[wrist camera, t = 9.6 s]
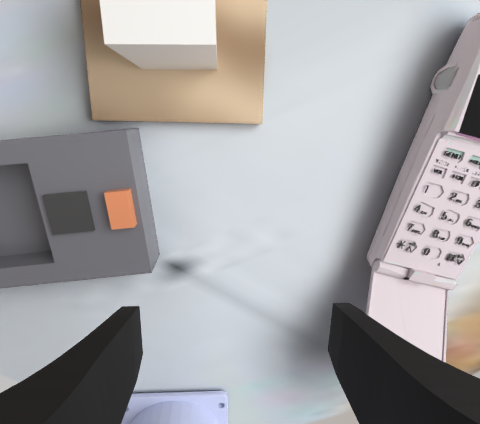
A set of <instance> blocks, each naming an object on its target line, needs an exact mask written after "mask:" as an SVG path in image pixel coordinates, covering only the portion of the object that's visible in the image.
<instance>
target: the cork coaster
mask: <svg viewBox="0 0 480 424" xmlns="http://www.w3.org/2000/svg"><path fill="white" fill-rule="evenodd" d="M80 2H81V12H82V22H83V32H84V42H85V52H86V62H87V72H88V81H89V91H90V101H91V111H92V120H110V121H157V122H203V123H250V124H262V115H263V89H264V64H265V38H266V12H267V0H215V2H216V41H217V70H143V69H141V68H140V67H138V66H137V65H135V64H134V63H132V62H131V61H129V60H128V59H126V58H125V57H123V56H122V55H120V54H119V53H117V52H116V51H114V50H113V49H111V48H109V47H108V46H106V45H105V44H104V36H103V27H102V18H101V9H100V0H80Z"/></svg>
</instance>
